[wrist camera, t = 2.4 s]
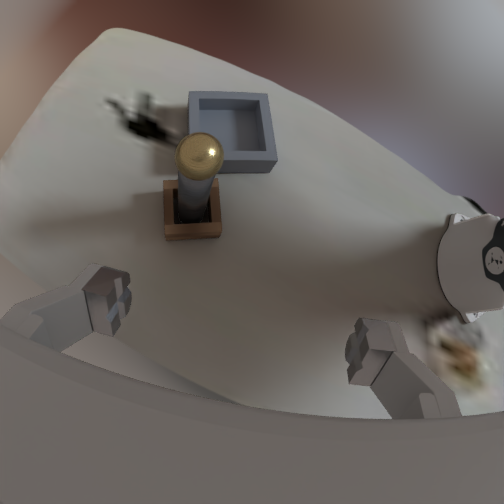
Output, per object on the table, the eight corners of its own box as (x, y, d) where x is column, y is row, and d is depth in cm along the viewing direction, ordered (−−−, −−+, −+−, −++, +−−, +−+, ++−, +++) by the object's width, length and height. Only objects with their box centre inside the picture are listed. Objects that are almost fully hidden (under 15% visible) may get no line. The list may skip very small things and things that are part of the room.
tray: (260, 108, 40) (267, 93, 37) (269, 172, 39) (277, 160, 35) (187, 107, 38) (189, 91, 35) (189, 173, 36) (190, 160, 33)
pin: (205, 198, 36) (225, 122, 21) (207, 227, 36) (229, 167, 20) (174, 199, 35) (174, 123, 20) (176, 229, 35) (174, 169, 19)
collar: (214, 188, 37) (218, 178, 34) (218, 237, 36) (222, 231, 33) (164, 190, 35) (163, 180, 32) (166, 240, 34) (164, 234, 32)
